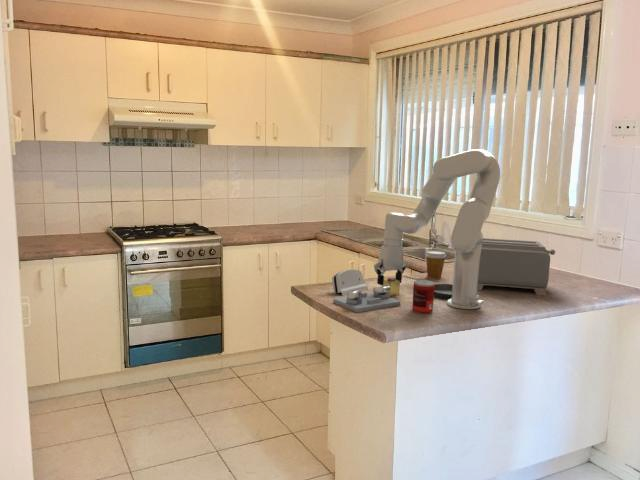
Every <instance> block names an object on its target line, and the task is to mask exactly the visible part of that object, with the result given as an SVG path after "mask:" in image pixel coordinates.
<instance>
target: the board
mask: <svg viewBox="0 0 640 480" xmlns="http://www.w3.org/2000/svg"><path fill="white" fill-rule="evenodd" d="M361 293H362V295H361V297H359V298H361V299H362V303H361V304H358V305H353V304H348V303H346V299H347V296H342V297H335V298H332V299H333V302H332V303H334V304H336V305H339V306H341V307H343V308H345V309H348V310H350V311H352V312H354V313H362V312H370V311H375V310H380V309H387V308H392V307H396V306H397V307H398V306H401V302H402V301H401V300H398V299H395V298H393V297H391V296H389V299H382V300H381V298H375V297H374V292H370V293H368V292H361Z"/></svg>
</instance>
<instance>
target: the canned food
mask: <svg viewBox="0 0 640 480" xmlns="http://www.w3.org/2000/svg"><path fill="white" fill-rule="evenodd" d="M435 284H436V283H435V282H434V281H432V280H428V279H420V280H414V281H413V291H412V308H411V309H412V311H413V312H414V313H418V314H423V315H424V314H431V313H432V312H433V310H434V301H435V300H434V299H435V296H434V288H435Z"/></svg>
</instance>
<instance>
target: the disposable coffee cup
mask: <svg viewBox="0 0 640 480" xmlns="http://www.w3.org/2000/svg"><path fill="white" fill-rule="evenodd" d="M446 257H447V254H446V252H444V251H441V250H426V253H425V259H426V273H427V275H426V276H427V278H428V279H433V280H436V279H437V280H439V279H441V278H442V274H443V270H444V264H445V259H446Z"/></svg>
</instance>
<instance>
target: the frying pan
mask: <svg viewBox="0 0 640 480" xmlns="http://www.w3.org/2000/svg"><path fill="white" fill-rule="evenodd" d="M402 278H407V279H412V280H414V281H416V280H421V279H420V278H415V277H411V276H407V275H402ZM452 285H453V283H452V284H450V283H435V288H434V297H437V298H440V299H445V300H448V299H451V298H452Z"/></svg>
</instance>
